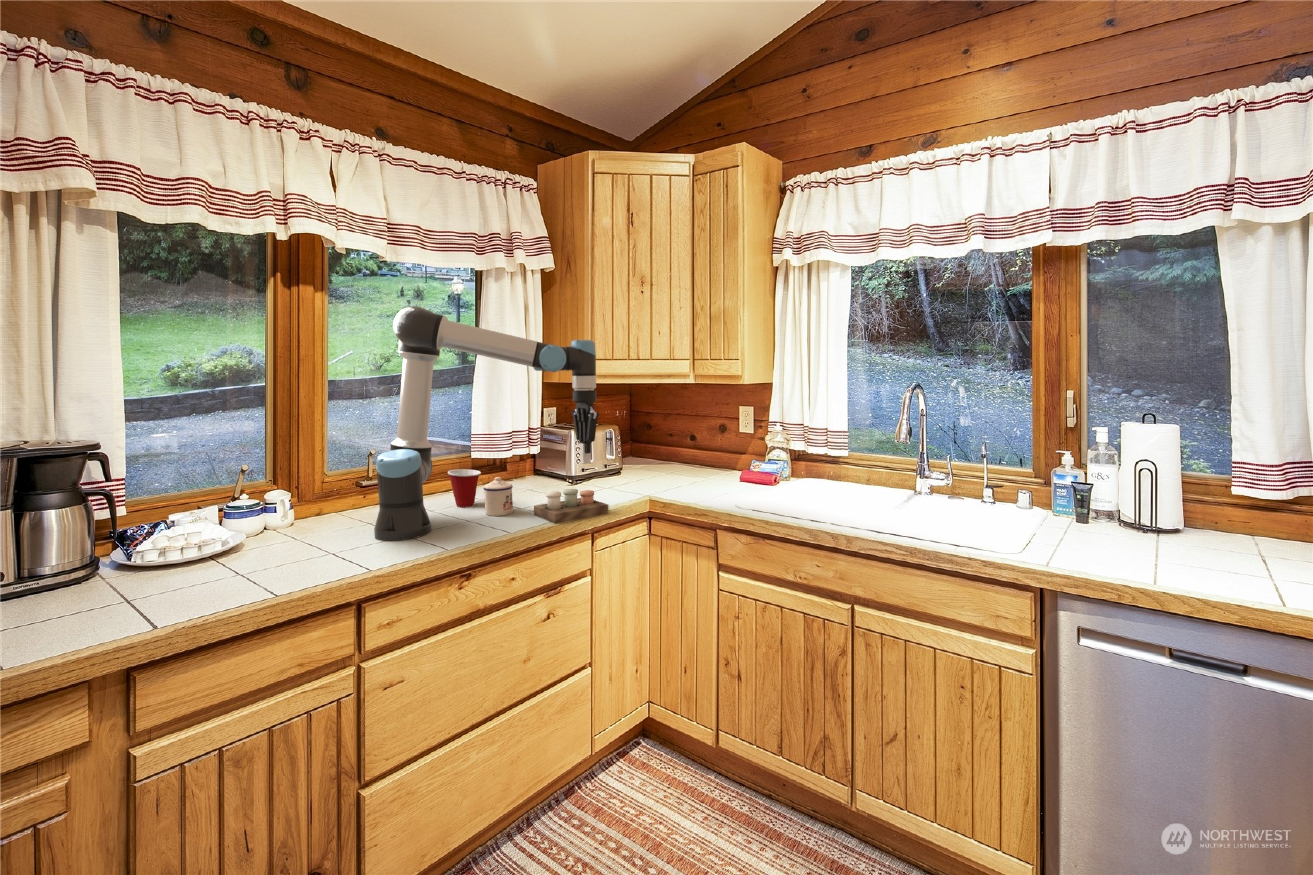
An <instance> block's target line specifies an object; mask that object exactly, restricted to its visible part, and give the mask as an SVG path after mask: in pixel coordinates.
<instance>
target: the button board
mask: <svg viewBox="0 0 1313 875" xmlns="http://www.w3.org/2000/svg"><path fill="white" fill-rule="evenodd" d="M593 500H594V503H593V504H587V505H584V504H581V497H579V498H578V497H577V506H575V507H570V508H567V507H565V500H560V502H561V509H558V510H553V511H550V510H548V503H544V504H536V505H533V515H534V516H535V517H538V518H541V519H542V520H545V521H548V522H550V523H553V524H554V525H555V524H556V525H557V524H561V523H567V522H573V521H578V520H582V519H588V518H594V517H598V516H603V515H609V504H608V503H604V502H601V501H598V500H596V499H593Z"/></svg>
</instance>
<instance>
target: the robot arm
mask: <svg viewBox="0 0 1313 875" xmlns="http://www.w3.org/2000/svg"><path fill="white" fill-rule="evenodd" d="M393 331H394V334H395V336H396V338H397V339H398V348H397V352H398V354H399V355H400V356H401V357H402V370H401V383H400V394H399V406H398V418H397V419H398V420H397V431H396V437H395V439H394V440H392V441H391V442H390V450H389V451H384V452H382V453H381V454H379V455H378V456H377V457H376V464H375V469H376V477H377V480H376V481H377V491H378V492H377V493H378V503H379V504H378V505H379V509H378V513H377V517H376V522H375V524H374V530H373V531H374V532H373V534H374V538H376V539H378V540H382V541H404V540H409V539H416V538H420V537H423V536H427V535H428V534H430V533H431V532H432V530H433V529H432V522H431V519H430V517H429V515H428V514H429V513H428V512H427V510H426V508H425V502H424V491H423V490H424V488H423V484H424V483H425V482H426V481H428V479H429V478H430V476H431V474H432V471H433V465H434V464H433V460H432V445H433V444H432V443H430V441H429V440H428V435H429V434H428V432H429V422H430V412H431V411H430V410H431V409H430V408H431V400H432V398H431V397H432V387H433V386H432V385H433V372H434V363H435V361H436V360H437V359H439V358H440V355H441V354H440V353H441V349H443V348H445V349H451V350H456V351H460V352H465V353H468V354H472V355H473V354H474V355H477V356H481V357H485V358H491V359H496V360H501V361H504V362H508V363H513V364H517V365H523V366H526V367H527V366H528V367H531V368H533V369H534V371H540V372H549V373H550V372H551V373H557V372H559V371H560V372H562V371H566V372H567V371H571V383H572V384H571V387H572V389H573V391H572V402H574V403H575V409H573V410H571V415H572V418H573V424H574V425H573V426H574V433H575V440H577V441H578V442H579V443H580V464H584V465H585V464H591V462H592V460H591V455H592V454H591V452H592V450H591V444H592V443H593V442H595V440H596V432H597V423H598V418H599V412H597V411H595V407H594V403H595V402H597V390H596V388H597V354H596V343H595V341H594V340H592V339H578V340H577V339H574V340H571V344H570V345H568V346H559V345H556V344H550V343H546V342H545V343H544V342H541V341H536V340H533V339H527V338H524V337H520V336H516V335H512V334H507V333H503V332H499V331H495V330H490V329H486V328H482V327H477V326H473V325H470V324H469V325H468V324H465V323H460V322H456V321H452V320H449V319H448V318H447V316H446V315H441V314H438V313H435V312H433V311H431V310H428V309H426V308H424V307H421V306H415V305H413V306H407V307H404V308H402V309H400V311H399V312H397V314H396V316H395V317H394V320H393Z"/></svg>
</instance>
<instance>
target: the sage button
mask: <svg viewBox="0 0 1313 875" xmlns="http://www.w3.org/2000/svg"><path fill="white" fill-rule="evenodd" d="M578 494H579V489H576V488H567V489H563V494H562V495H563V496H564V501H565V507H567V508H570V507H575V506H577V499H578Z"/></svg>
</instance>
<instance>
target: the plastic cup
mask: <svg viewBox="0 0 1313 875" xmlns="http://www.w3.org/2000/svg"><path fill="white" fill-rule="evenodd" d="M481 474H482V472H481V471H480V470H476V469H467V468H466V469H464V468H461V469H459V468H458V469H451V470H447V475H448V476H449V480H450V484H451V488H452V493H453V497H454V501H455V506H456V507H457V508H469V507H474V506H475V501H476V495H477V489H478V488H477V487H478V481H479V477H480V475H481Z"/></svg>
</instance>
